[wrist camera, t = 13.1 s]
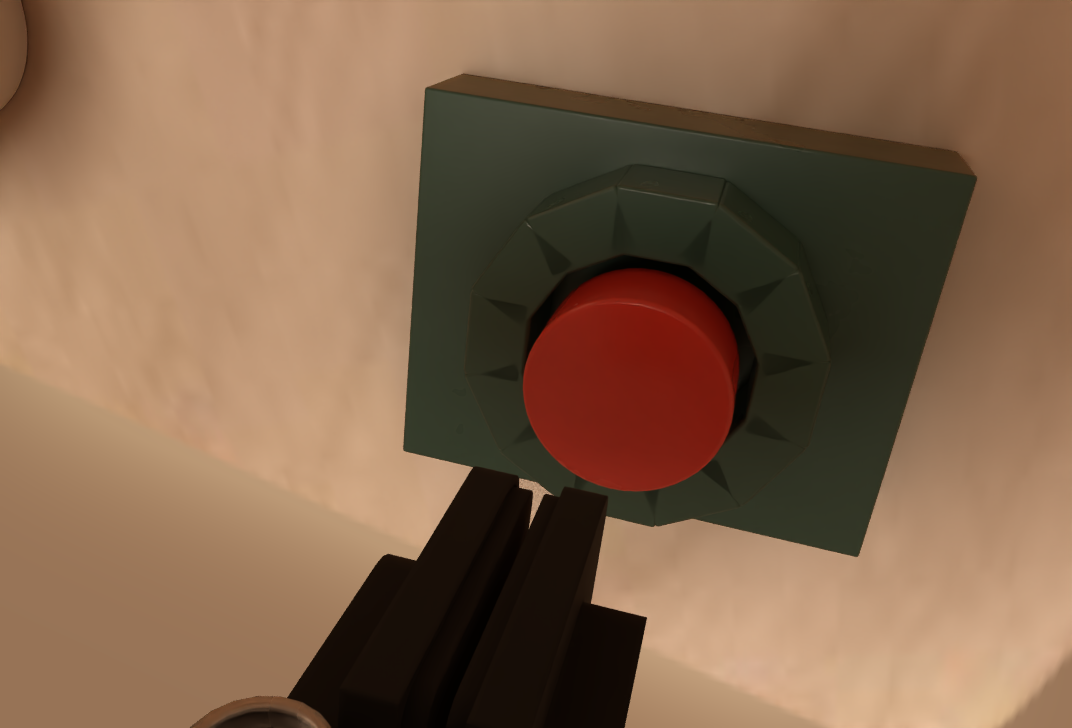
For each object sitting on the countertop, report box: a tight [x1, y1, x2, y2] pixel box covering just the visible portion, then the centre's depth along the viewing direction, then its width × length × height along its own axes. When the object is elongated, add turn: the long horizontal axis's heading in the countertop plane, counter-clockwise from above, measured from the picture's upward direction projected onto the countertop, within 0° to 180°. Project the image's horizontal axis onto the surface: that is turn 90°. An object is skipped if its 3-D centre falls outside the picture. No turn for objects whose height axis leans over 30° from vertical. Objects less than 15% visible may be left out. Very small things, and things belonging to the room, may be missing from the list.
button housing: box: [403, 74, 977, 557], centre depth 19 cm, size 10×8×4 cm
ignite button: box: [523, 268, 740, 491], centre depth 17 cm, size 4×4×2 cm
